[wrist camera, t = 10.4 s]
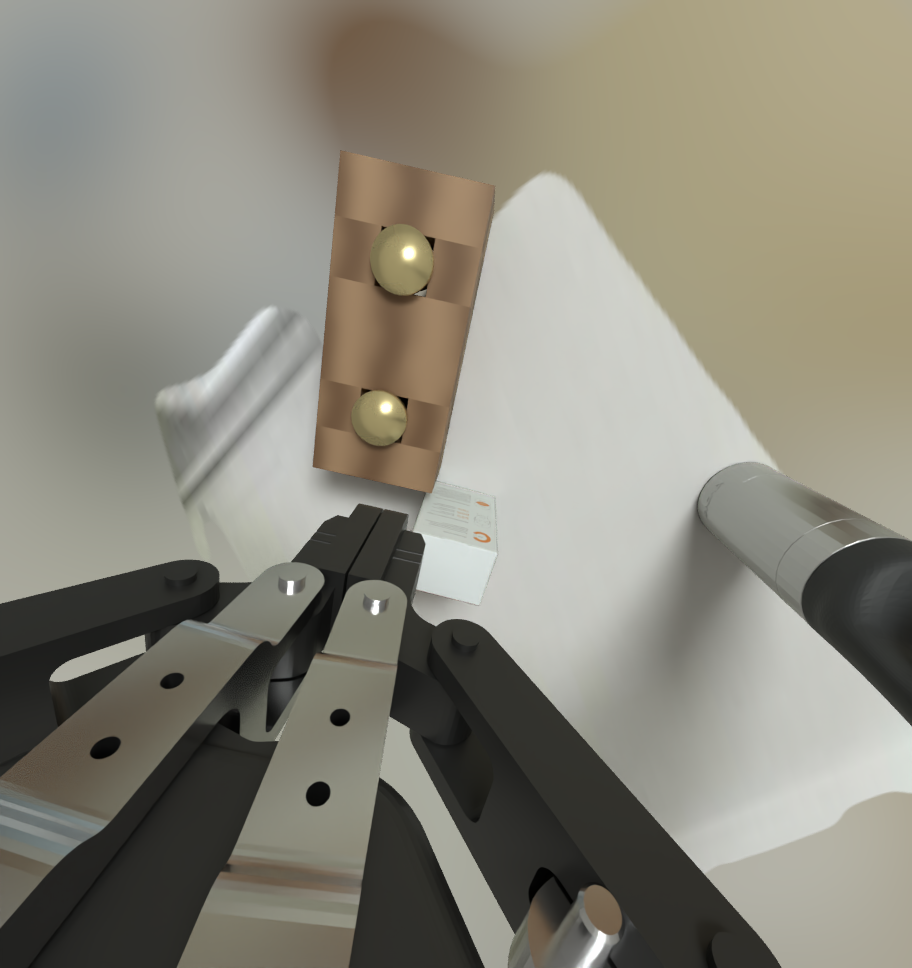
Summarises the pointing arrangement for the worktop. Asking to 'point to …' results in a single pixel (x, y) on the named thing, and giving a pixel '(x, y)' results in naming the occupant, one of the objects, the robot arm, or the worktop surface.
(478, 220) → the socket block
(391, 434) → the plunger
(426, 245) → the plunger
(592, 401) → the worktop surface
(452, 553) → the small box
